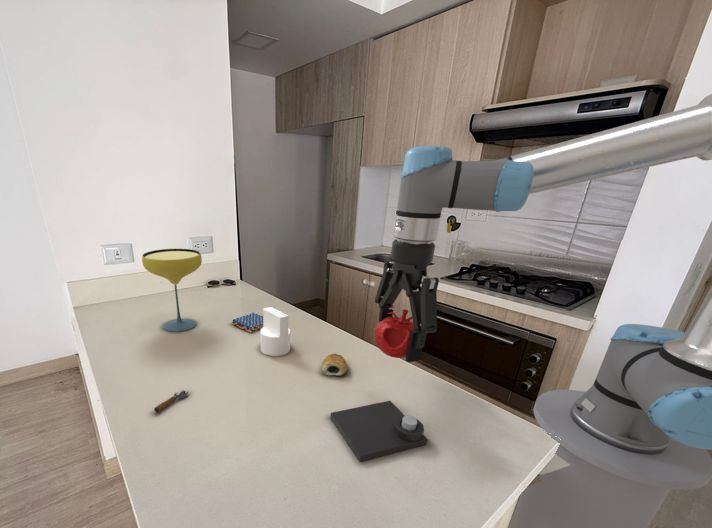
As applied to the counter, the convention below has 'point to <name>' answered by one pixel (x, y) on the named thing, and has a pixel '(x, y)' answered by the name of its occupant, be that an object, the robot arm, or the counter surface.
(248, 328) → the woven mat
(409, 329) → the pomegranate
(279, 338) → the base with upright slab
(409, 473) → the counter surface
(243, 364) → the counter surface
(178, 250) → the cocktail glass
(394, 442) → the scale
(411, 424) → the button
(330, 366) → the pastry
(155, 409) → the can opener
